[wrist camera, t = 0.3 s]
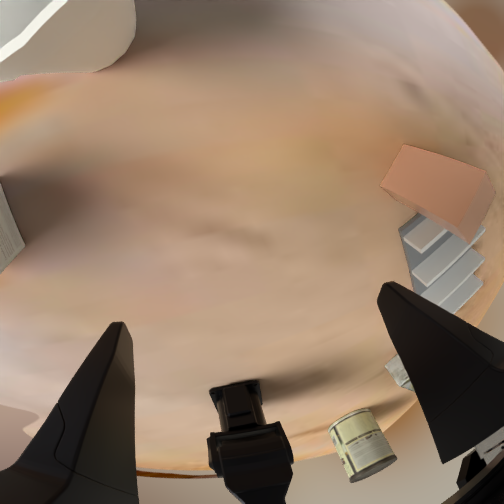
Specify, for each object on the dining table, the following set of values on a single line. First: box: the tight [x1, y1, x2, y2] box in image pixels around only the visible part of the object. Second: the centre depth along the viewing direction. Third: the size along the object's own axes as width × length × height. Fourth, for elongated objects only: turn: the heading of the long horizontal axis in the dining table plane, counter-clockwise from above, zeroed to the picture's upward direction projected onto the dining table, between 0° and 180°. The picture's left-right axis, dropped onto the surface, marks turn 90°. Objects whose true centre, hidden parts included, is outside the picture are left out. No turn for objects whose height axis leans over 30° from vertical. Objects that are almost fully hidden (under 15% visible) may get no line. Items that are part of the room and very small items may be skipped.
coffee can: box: [328, 408, 397, 483], centre depth 42 cm, size 10×10×14 cm
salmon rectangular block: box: [380, 144, 496, 245], centre depth 19 cm, size 5×3×10 cm, turn 150°
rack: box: [399, 213, 485, 314], centre depth 29 cm, size 12×19×4 cm, turn 33°
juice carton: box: [385, 354, 415, 391], centre depth 40 cm, size 20×10×6 cm, turn 51°
